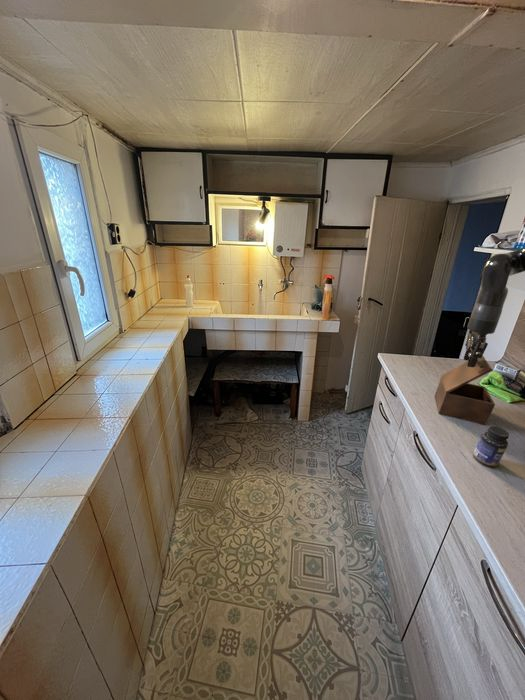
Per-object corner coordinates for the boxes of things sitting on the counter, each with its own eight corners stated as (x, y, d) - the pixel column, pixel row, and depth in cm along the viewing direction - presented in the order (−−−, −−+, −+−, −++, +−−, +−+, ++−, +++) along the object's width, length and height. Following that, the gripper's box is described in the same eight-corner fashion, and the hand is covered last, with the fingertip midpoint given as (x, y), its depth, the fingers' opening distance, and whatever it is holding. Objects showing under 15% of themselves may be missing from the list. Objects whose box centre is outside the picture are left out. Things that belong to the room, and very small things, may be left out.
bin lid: (482, 355, 102) (473, 345, 102) (493, 370, 91) (482, 359, 91) (442, 377, 110) (433, 367, 110) (447, 393, 100) (437, 383, 100)
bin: (476, 405, 109) (485, 386, 106) (485, 425, 99) (495, 404, 95) (434, 396, 114) (441, 377, 111) (438, 413, 104) (446, 393, 100)
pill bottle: (492, 471, 80) (508, 441, 75) (468, 457, 84) (482, 428, 80) (500, 462, 83) (515, 432, 79) (476, 449, 88) (490, 421, 83)
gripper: (506, 325, 85) (487, 374, 92) (492, 312, 97) (476, 357, 104) (476, 321, 88) (460, 369, 94) (466, 310, 100) (452, 353, 107)
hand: (468, 363), depth 99 cm, fingers closed on bin lid, 5 cm apart
